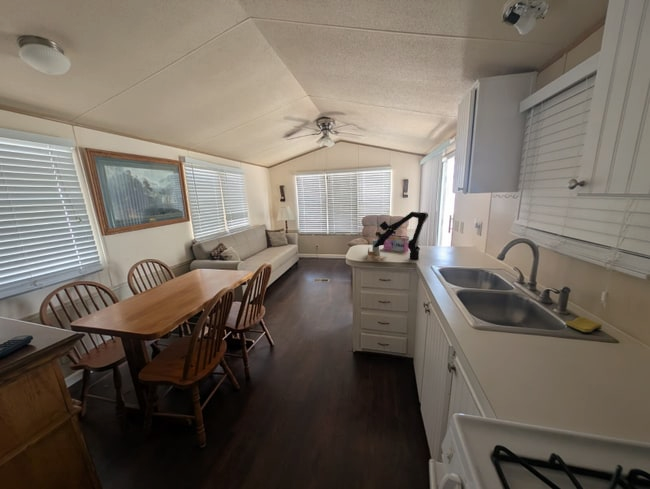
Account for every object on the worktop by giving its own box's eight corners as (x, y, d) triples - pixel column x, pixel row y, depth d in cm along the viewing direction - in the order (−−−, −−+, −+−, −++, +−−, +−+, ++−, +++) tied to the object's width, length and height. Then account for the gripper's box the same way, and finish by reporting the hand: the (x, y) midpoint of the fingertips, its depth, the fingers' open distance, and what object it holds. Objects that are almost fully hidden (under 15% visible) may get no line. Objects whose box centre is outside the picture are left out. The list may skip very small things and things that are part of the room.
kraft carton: (386, 257, 211) (386, 248, 209) (387, 261, 196) (387, 252, 195) (368, 256, 214) (368, 247, 212) (367, 261, 200) (367, 251, 198)
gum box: (382, 248, 242) (382, 235, 239) (386, 247, 247) (386, 234, 245) (404, 252, 226) (405, 237, 223) (408, 250, 231) (409, 236, 228)
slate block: (378, 252, 221) (379, 239, 219) (378, 253, 216) (379, 240, 214) (372, 252, 223) (372, 239, 220) (372, 253, 217) (372, 240, 215)
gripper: (380, 226, 223) (368, 238, 227) (380, 229, 205) (367, 242, 210) (389, 235, 223) (376, 246, 227) (390, 238, 205) (376, 251, 210)
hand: (374, 246), depth 219 cm, fingers closed on slate block, 5 cm apart
